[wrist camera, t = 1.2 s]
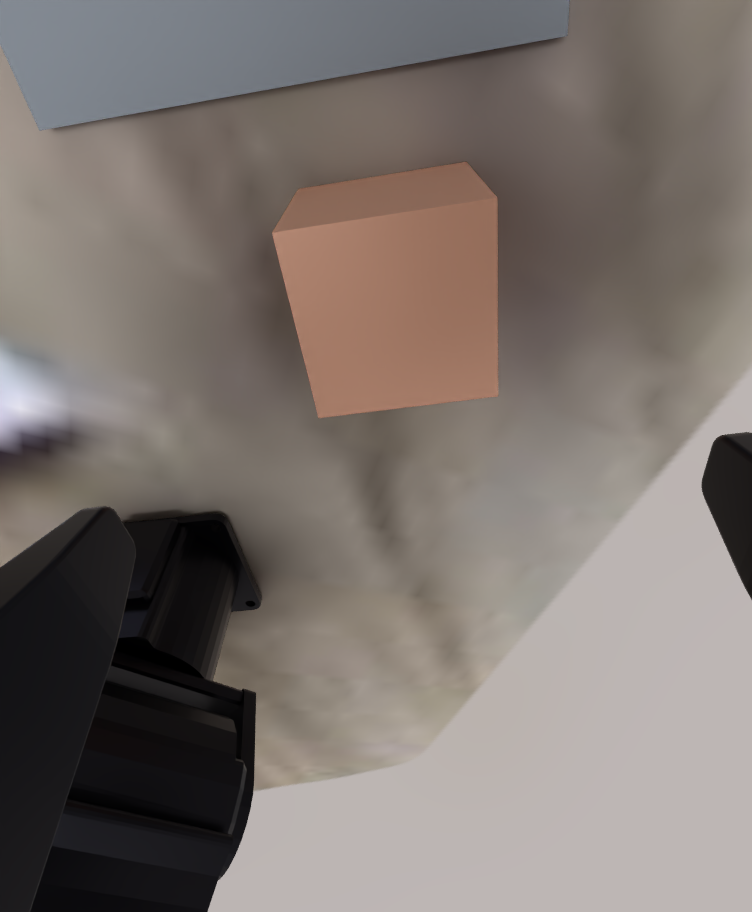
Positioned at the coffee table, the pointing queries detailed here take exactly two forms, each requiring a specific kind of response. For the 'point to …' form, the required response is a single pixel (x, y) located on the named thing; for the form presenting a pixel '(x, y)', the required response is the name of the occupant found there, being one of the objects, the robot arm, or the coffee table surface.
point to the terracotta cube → (394, 288)
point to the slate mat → (237, 46)
